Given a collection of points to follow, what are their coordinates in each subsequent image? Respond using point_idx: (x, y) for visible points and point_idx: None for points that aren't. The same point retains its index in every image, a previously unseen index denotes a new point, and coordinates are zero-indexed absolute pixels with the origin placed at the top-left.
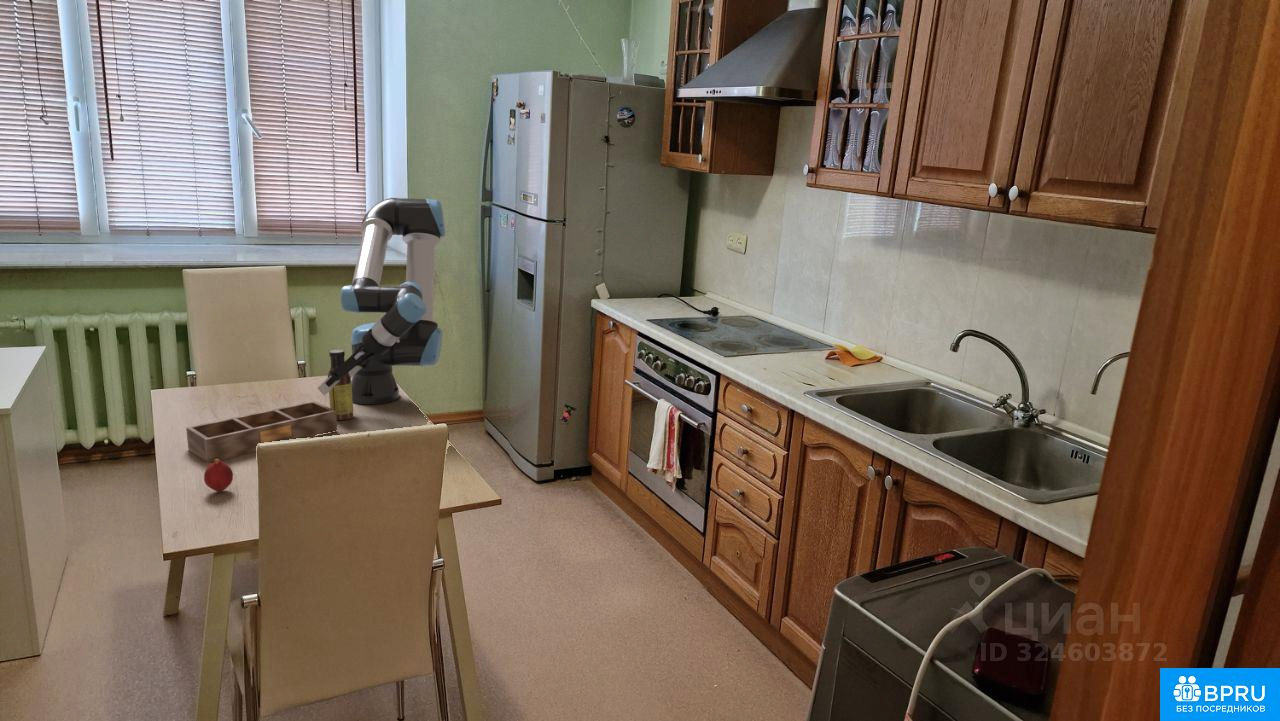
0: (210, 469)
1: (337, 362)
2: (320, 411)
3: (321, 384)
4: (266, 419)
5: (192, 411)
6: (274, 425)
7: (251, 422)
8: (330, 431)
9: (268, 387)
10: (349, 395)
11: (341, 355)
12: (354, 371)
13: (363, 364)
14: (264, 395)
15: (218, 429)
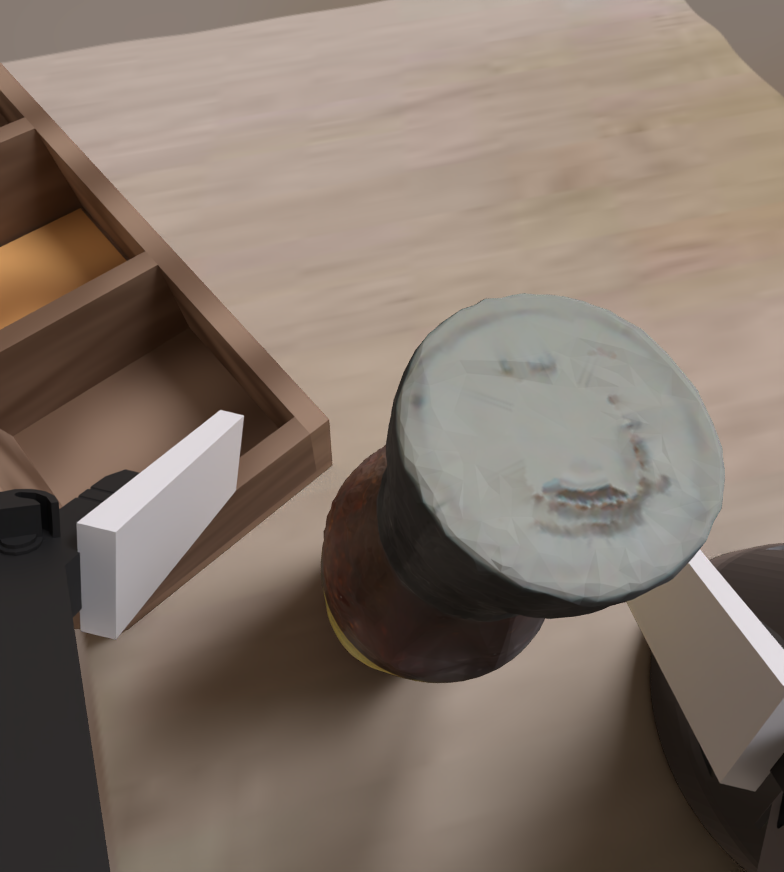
0: None
1: (388, 516)
2: None
3: (193, 433)
4: (137, 253)
5: (448, 48)
6: None
7: (93, 205)
8: None
9: (776, 190)
10: (373, 666)
11: (441, 569)
12: (682, 677)
13: (759, 868)
14: (674, 196)
15: (12, 114)
